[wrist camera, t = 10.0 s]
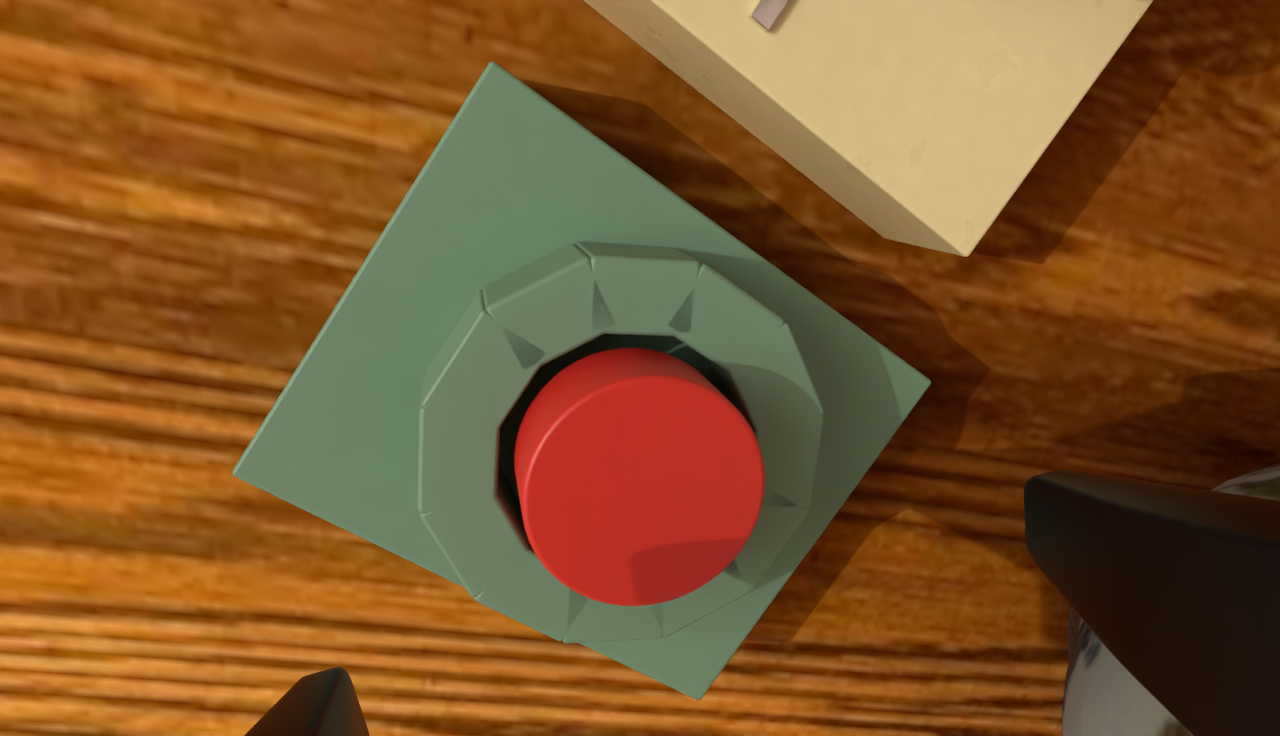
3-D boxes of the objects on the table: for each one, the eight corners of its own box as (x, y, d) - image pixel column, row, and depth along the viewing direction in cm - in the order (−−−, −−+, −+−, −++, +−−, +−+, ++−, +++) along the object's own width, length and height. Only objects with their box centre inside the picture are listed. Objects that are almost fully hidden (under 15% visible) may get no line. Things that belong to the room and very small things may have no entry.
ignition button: (470, 491, 13) (471, 542, 11) (595, 303, 13) (616, 327, 11) (650, 586, 14) (676, 645, 12) (770, 417, 14) (813, 454, 12)
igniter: (260, 430, 16) (195, 523, 12) (487, 70, 15) (496, 45, 11) (673, 640, 19) (727, 767, 15) (879, 354, 18) (991, 411, 14)
